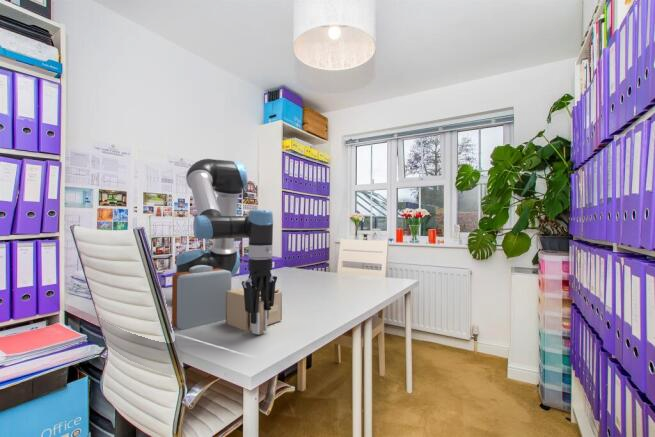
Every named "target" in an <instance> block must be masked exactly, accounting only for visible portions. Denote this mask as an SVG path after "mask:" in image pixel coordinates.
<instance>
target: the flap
mask: <svg viewBox="0 0 655 437" xmlns="http://www.w3.org/2000/svg"><path fill="white" fill-rule="evenodd" d="M282 305H283V291H281V292H280V291H279V292H278V293H275V294H274V305H273V306H272V307H270V308H271V310H269V314H268V319H267V326H269V325H272V324H274V323H276V322H277V323H278V322H280V321H282V320H283V318H282V316H283V314H282V313H283V306H282ZM258 313H260V334H257V335H262V334H264V332H265V331H264V301H261V297H259V305H258ZM249 331H252V323H251V313H250V330H249Z"/></svg>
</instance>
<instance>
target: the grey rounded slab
mask: <svg viewBox="0 0 655 437" xmlns="http://www.w3.org/2000/svg"><path fill="white" fill-rule="evenodd" d="M171 278H172V279H171V280H172V281H171V284H172V285H171V288H172V289H171V290H172V292H171V308H172V309H171V323H172V325H173V326H174V327H176V328H178V329H179V330H183V331H184V330H187V329H192V328H196V327H200V326H204V325H209V324H213V323H217V322H218V323H219V322H223V321H226V291H229V290H232V276H231V272H230V271H227V270H223V269H219V268H217V269H213V267H211V266H207V265H197V266H194V267H191V268H190V269H189V272H181V273H173V275H172V277H171Z"/></svg>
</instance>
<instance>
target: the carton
mask: <svg viewBox="0 0 655 437" xmlns="http://www.w3.org/2000/svg"><path fill="white" fill-rule="evenodd" d="M278 292H280V289H279V288H275V293H278ZM259 297H261V292H260V296H259ZM225 324H226V325H229V326H232V327H235V328H237V329H240V330H242V331H245V332H248V331H251V330H250V325H248V312H246V311H245V301H244V288H243V287H241V288H235V289H231V290H229V291H226V320H225Z"/></svg>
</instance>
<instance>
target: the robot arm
mask: <svg viewBox="0 0 655 437" xmlns="http://www.w3.org/2000/svg"><path fill="white" fill-rule="evenodd" d="M246 168H247V167H246V165H245V164H244V163H243V162H240V161H235V160H223V159H212V158H204V159H199V160H198V161H196V162H194V163H192V165H191V166H190V167H189V168H188V170H187V172H186V177H185V180H186V184H187V186H188V187H189V189H191V194H192V197H193V201H194V206H195V210H196V214H197V215H196V216H194V218H193V222H192V223H193V227H192V229H193V236H194V237H195V239H199V240H201V239H202V240H214V241H213V242H214V244H213V245H211V247H210V248H209V252H206V251H205V249H194V250H193V249H192V250H187V251H182V252H180V253H179V254H177V255H176V261H175V262H176V263H175V268H176V269H175V270H176V271H175V272H176V273H181V272H189V269H190V268H191V267H194V266H197V265H207V266H211V267H213V269H217V268H219V269H223V270H227V271H230V272H231V277H233V276H235V275H236V274H237V273H238V271H239V269H240V266H241V264H240V263H241V261H240V260H241V256H240V255H241V254H240V252H239V251H237V250H238V249H237V248H236V246H235V245H234V243H235V239H248V252H247V254H248V256H247V257H248V258H249V259H248V263H247V264H248V268H247V269H248V272H249V275H248V279H246V280H242V282H241V285H242V288H244V301H245V311H246V312H250V313H251V323H252V330H251V333H252V334H254V335H258V334H259V335H261V334H260V313H258V305H259V296H260V292H261V301H264V332H267V331H268V325H267V319H268V314H269V310H271V308H270V307H272V306H273V305H274V294H275V289H276V283H277V279H278V277H277V276H275V275H272V270H273V259H272V257H273V240H274V239H273V236H274V235H273V231H274V216H273V211H271V210H270V209H251V210H249V212H248V215H237V211H238V210H237V209H238V197H239V196H240V195H242V193H243V190H245V189H246V188H247V186H248V172H247V169H246ZM216 194H217V196H216ZM176 273H175V274H176Z"/></svg>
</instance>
